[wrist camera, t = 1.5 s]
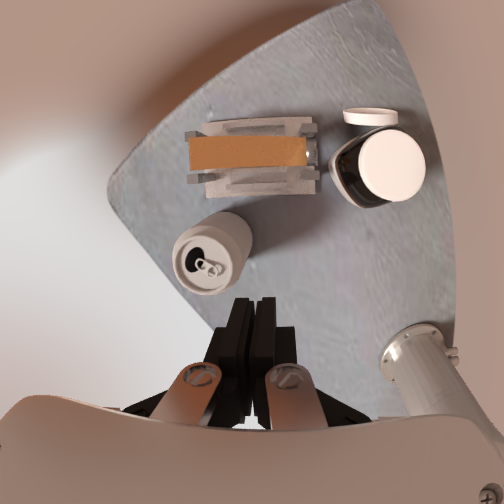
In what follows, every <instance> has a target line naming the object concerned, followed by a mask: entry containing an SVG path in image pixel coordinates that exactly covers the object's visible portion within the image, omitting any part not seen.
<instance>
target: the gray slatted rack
mask: <svg viewBox="0 0 504 504" xmlns="http://www.w3.org/2000/svg"><path fill="white" fill-rule="evenodd" d="M202 130H203V134H202V133H200V132H198V131H189V132H185V141H186V142H188V139H189V138H190V137H208V136H288V137H314V136H315V135H316V134H317V133H318V130H317V123H312V117H272V118H254V119H240V120H229V121H219V122H210V123H202ZM315 180H320V172H319V170H315V167H314V166H261V167H237V168H220V169H206V170H205V173H203V174H190V175H187V183H188V184H196V183H203V182H205V185H206V198H215V197H233V196H256V195H292V194H315Z"/></svg>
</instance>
